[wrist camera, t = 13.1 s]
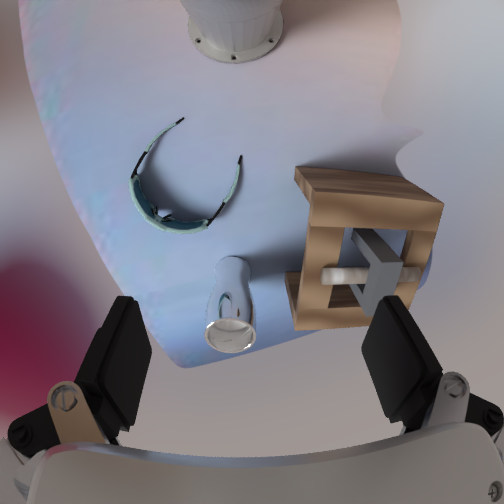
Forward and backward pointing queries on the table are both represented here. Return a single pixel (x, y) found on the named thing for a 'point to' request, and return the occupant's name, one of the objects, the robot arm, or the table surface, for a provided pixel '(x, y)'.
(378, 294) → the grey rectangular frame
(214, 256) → the table surface
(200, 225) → the sunglasses
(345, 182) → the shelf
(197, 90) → the table surface
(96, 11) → the table surface
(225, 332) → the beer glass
